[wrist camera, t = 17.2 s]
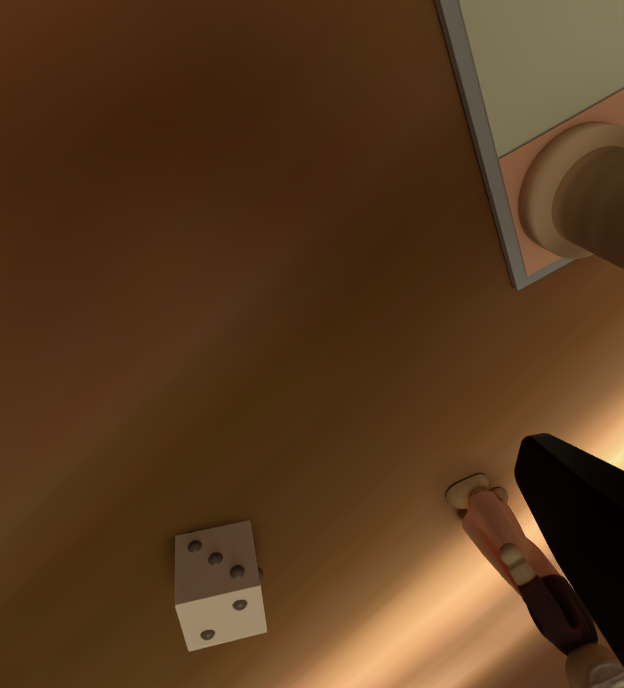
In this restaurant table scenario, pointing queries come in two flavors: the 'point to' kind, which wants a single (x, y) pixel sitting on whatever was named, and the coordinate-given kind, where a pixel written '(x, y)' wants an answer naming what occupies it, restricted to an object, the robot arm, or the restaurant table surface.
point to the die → (218, 585)
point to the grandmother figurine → (536, 583)
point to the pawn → (577, 194)
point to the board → (531, 94)
